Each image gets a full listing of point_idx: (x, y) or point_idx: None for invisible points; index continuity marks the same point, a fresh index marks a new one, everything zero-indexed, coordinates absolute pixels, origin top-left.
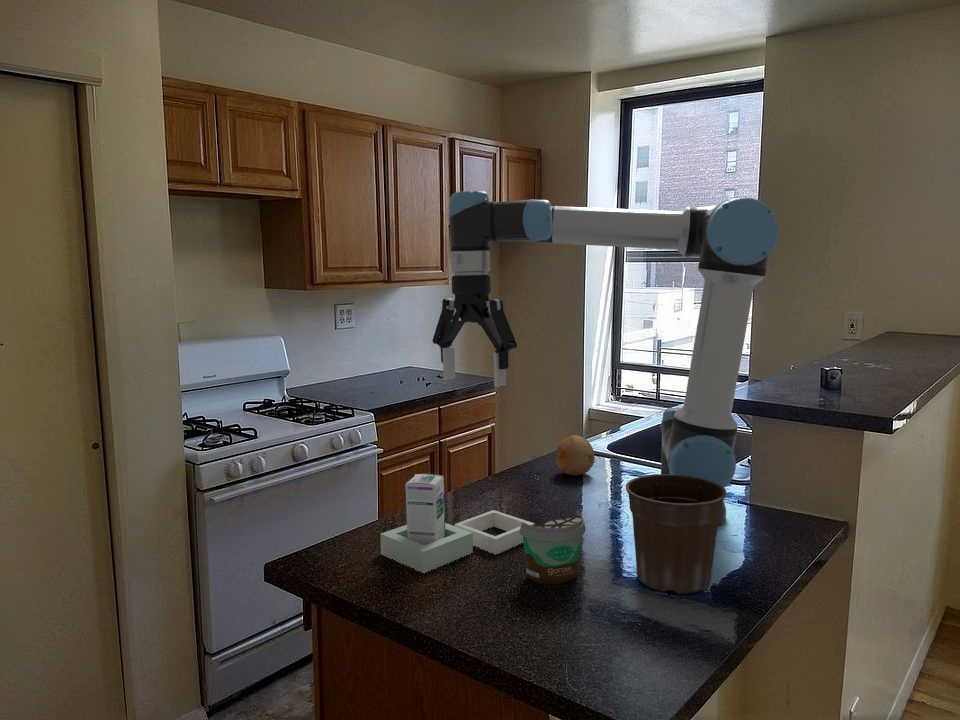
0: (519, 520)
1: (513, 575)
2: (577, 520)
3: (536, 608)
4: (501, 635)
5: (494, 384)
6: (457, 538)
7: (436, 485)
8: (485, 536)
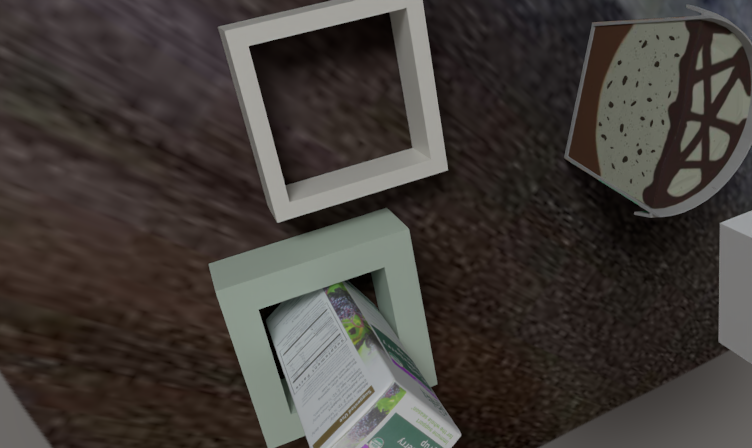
0: (369, 13)
1: (541, 181)
2: (725, 46)
3: (663, 217)
4: (679, 313)
5: (738, 351)
6: (418, 282)
7: (449, 421)
8: (408, 181)
